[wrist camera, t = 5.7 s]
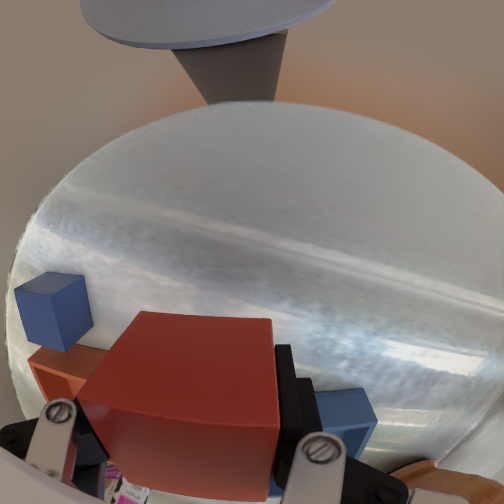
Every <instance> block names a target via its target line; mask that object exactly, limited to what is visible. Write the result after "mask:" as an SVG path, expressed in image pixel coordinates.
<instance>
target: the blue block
mask: <svg viewBox="0 0 504 504" xmlns="http://www.w3.org/2000/svg"><path fill="white" fill-rule="evenodd" d="M14 293H15V298H16V302H17V306H18V309H19V313H20V317H21V320H22V323H23V327H24V330H25V333H26V336H27V339H28V341H29V342H32V343H35V344H38V345H41V346H44V347H47V348H50V349H53V350H57V351H60V352H64V353H66V352H67V351H68V350H69V349H70V348H71V347H72V346H73V345H74V344H75V343H76V342H77V341H78V340H79V339H80V338H81V337H82V336H83V335H84V334H86V333H87V332H88V331H89V330H90V329H91V328H92V327H93V322H92V318H91V313H90V308H89V303H88V298H87V292H86V286H85V280H84V276H83V275H72V274H62V273H52V272H46V273H44V274H42V275H40V276H38V277H36V278H34V279H32V280H30V281H28V282H26V283H24V284H23V285H21V286H19V287H17V288H15V289H14Z"/></svg>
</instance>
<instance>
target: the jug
mask: <svg viewBox="0 0 504 504" xmlns="http://www.w3.org/2000/svg"><path fill="white" fill-rule="evenodd" d="M390 475H391V476H393V477H396V478H398V479H400V480H401V481H403V482H404V483H405V484H406V486H407V488H409V489H413V490H414V489H415V488H420V489H425V490H429V491H434V492H439V493H445V494H451V495H458V496H462V497H465V498H466V499H467V500H468V501H469V503H470V504H504V486H503V485H502V484H501V483H499V482H497V481H494V480H492V479H488V478H484V477H481V476H479V475H474V474H466V473H461V472H456V471H450V470H443V469H438V468H437V460H434V459H433V460H422V461H419V462H415V463H413V464H411V465H408V466H405V467H404V468H402V469H399V470H397V471H395V472H393V473H391V474H390Z"/></svg>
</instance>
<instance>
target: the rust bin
mask: <svg viewBox="0 0 504 504" xmlns="http://www.w3.org/2000/svg"><path fill="white" fill-rule="evenodd" d="M107 353H108V351H104V350H100V349H95V348H90V347H86V346H82V345H77V344H74V345H73V346H72V347H71V348H70V349H69V350H68V351H67V352H66V353H64V352H60V351H57V350H53V349H50V348H47V347H44V346H42V347H41V348H40V349H39V350H37V351H36V352H35V353H34V354H33V355H32V356H31V357H30V358H29V359H28V363H29V365H30V368H31V370H32V372H33V375H34V377H35V379H36V382H37V384H38V386H39V388H40V390H41V392H42V394H43V396H44V398H45V400H46V402H47V403H48V402H50V401H51V400H54V399H58V398H64V399H68V400H70V401H73V400H74V398H75V396H76V395H77V394H78V392H79V391H80V389H81V388H82V387H83V385H84V384H85V382H86V381H87V380H88V378H89V377H90V375H91V374H92V373H93V371H94V370H95V369H96V367H97V366H98V365H99V363H100V362H101V361H102V359H103V358H104V357H105V355H106V354H107ZM107 463H110V464H113V465H115V463H114V462H113V460H112V459H111V457H110V459H109V461H107Z"/></svg>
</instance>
